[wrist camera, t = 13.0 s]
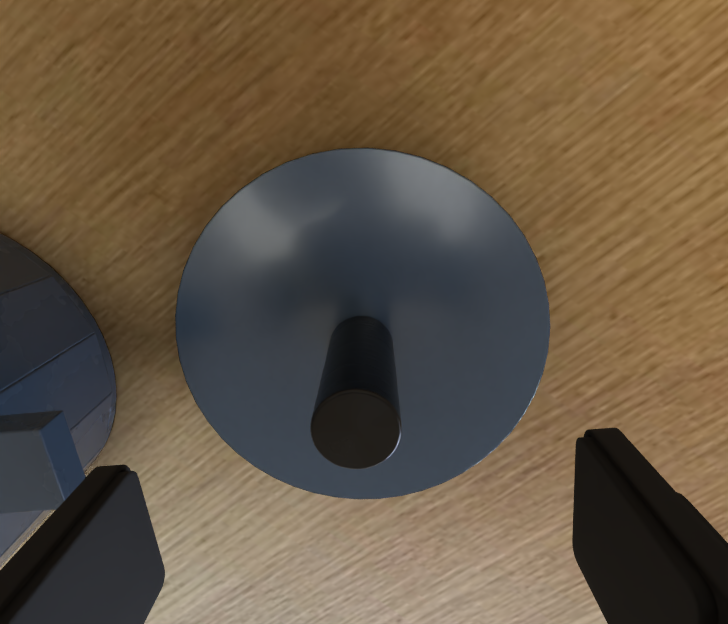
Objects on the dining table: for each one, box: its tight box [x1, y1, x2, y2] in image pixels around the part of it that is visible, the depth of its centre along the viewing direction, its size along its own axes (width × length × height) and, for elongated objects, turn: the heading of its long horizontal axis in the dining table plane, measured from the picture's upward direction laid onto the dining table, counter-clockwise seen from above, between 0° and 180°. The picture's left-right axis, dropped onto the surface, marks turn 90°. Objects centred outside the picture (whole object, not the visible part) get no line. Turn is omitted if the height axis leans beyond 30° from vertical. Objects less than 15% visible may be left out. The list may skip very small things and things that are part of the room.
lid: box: [175, 148, 550, 499], centre depth 16 cm, size 14×14×7 cm
